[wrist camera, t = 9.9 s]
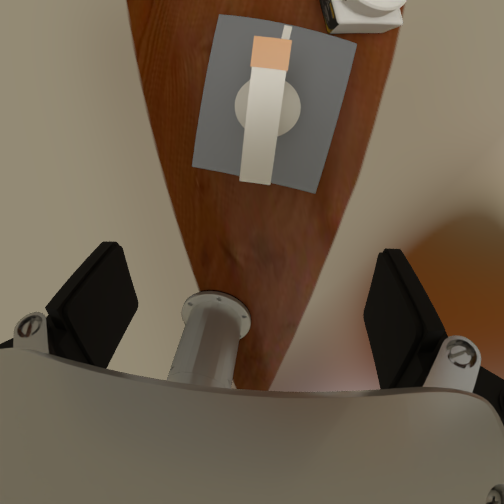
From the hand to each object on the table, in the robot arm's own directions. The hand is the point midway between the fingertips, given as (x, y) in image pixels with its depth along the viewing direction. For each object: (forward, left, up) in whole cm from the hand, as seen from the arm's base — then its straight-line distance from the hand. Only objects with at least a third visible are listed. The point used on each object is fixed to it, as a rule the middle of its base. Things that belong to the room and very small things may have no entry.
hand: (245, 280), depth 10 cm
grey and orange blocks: (+4, +1, -22) cm, 23 cm away
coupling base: (+4, +1, -28) cm, 29 cm away
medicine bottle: (+19, -5, -29) cm, 35 cm away
